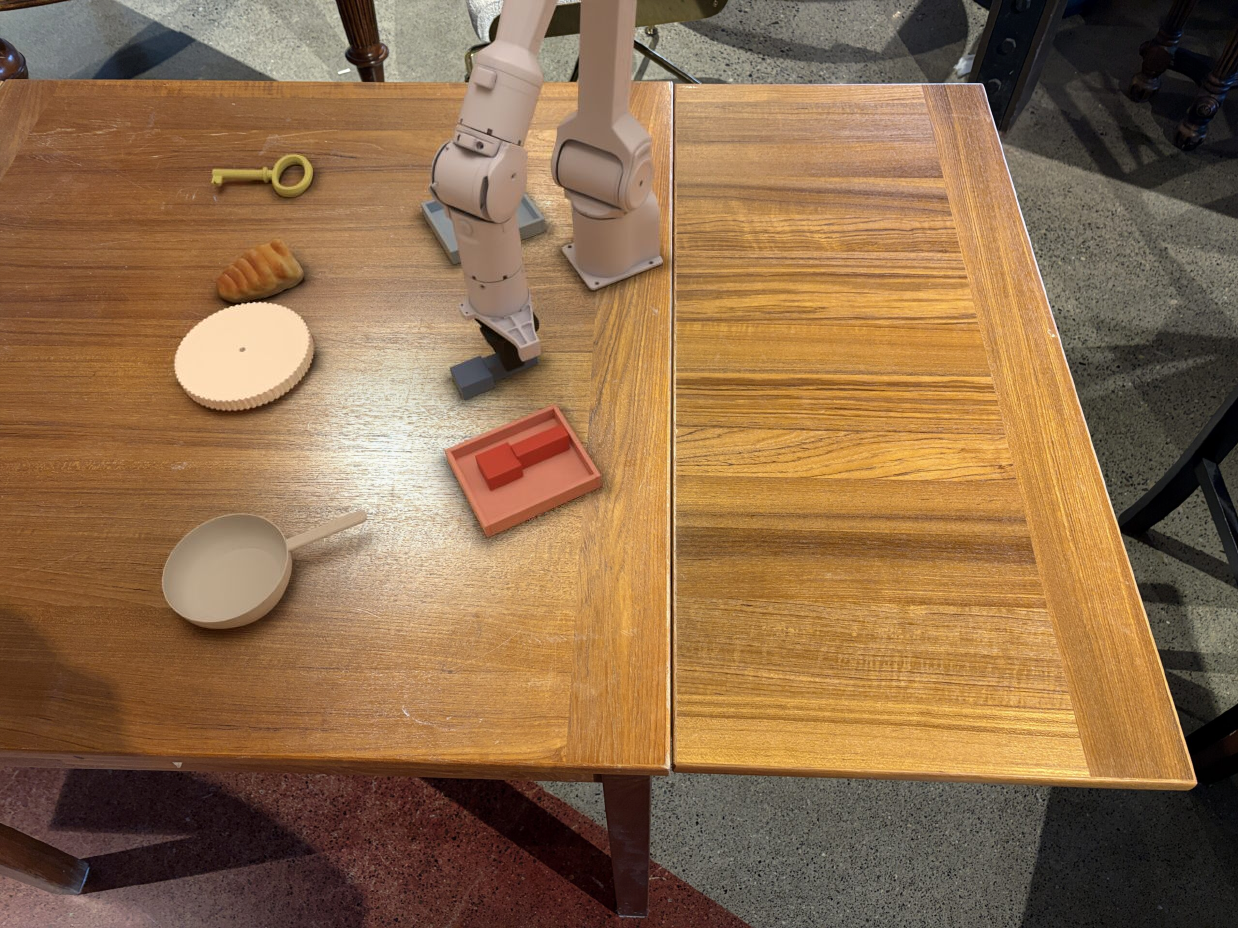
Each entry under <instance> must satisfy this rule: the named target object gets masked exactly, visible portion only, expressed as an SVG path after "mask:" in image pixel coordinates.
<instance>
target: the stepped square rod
mask: <svg viewBox="0 0 1238 928" xmlns="http://www.w3.org/2000/svg"><path fill="white" fill-rule="evenodd" d="M538 357H539V356H535V357H534V358H531V359H528V360H526V361H525V365H524V366H522V367H520V368H517V369H515V370H512V371H510V372H507V371H506V370H505V368H504V367H503V365H502V363H501V361H500V359H499V357H498V354H497V353H495V352H494V353H491V354H489V355H486V356H484V357H482V355H478V356H475V357H473V358H471V359H467V360H465V361H463V362H460V363H457V364H455V365H452V366H449V370H450V374H451V378H452V381H453V383H454V385H455V387H456V388H457V390H458V392H459V394H460V396H461V397H462V399H463V400H464V401H466V400H468V399H471V398H473V397H475V396H478V395H480V394H483V393H486V392H488V391H490V390H491V391H492V390H493V389H495V388H496V387H495V383H496V382H497V381H500V380H502V379H505V378H507V377H509V376H512V375H514V374H517V373H519V372H522V371H525V370H527V369H529V368H532V367H534V366H536V365H539V358H538Z"/></svg>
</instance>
